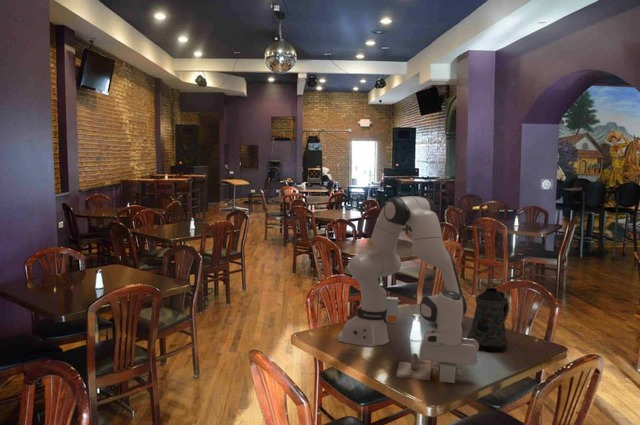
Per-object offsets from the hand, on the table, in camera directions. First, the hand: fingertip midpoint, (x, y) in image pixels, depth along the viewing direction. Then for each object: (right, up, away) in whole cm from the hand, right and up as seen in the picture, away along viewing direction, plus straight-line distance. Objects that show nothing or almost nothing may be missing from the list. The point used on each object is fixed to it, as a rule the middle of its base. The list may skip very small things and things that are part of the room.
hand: (447, 373), depth 191 cm
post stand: (-11, -1, +6) cm, 13 cm away
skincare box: (-11, +4, +68) cm, 70 cm away
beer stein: (+27, +1, +38) cm, 46 cm away
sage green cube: (0, -2, 0) cm, 2 cm away
